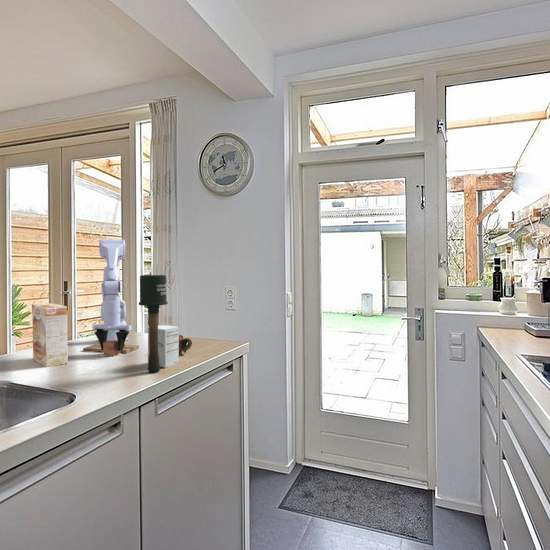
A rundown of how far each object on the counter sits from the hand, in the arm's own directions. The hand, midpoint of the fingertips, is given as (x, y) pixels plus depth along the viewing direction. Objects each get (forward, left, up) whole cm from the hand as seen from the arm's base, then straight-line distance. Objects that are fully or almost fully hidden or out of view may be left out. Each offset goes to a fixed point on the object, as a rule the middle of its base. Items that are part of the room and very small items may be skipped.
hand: (112, 350), depth 152 cm
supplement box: (+10, +25, -2) cm, 27 cm away
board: (-8, -5, -2) cm, 9 cm away
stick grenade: (+20, +26, -2) cm, 33 cm away
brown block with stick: (-3, 0, -2) cm, 3 cm away
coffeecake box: (+14, -15, -2) cm, 20 cm away
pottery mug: (-6, +23, -2) cm, 24 cm away
